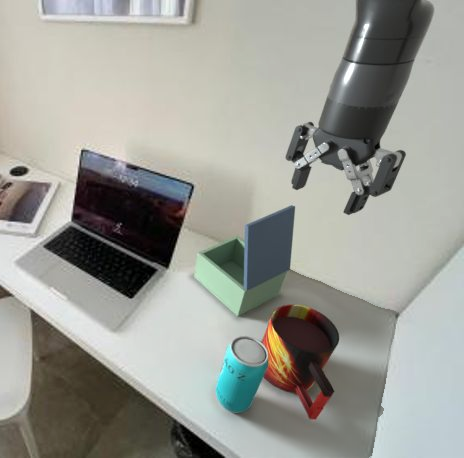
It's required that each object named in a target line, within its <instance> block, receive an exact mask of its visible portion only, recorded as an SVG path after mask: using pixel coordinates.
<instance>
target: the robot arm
mask: <svg viewBox="0 0 464 458" xmlns="http://www.w3.org/2000/svg"><path fill="white" fill-rule="evenodd" d="M434 14H435V6H434V4H433V3H432V2H431V1H430V0H355V17H354V23H353V25H352V28H351V30H350V33H349V36H348V39H347V42H346V46H345V49H344V52H343V54H342V57H341V59H340V62H339V65H338V67H337V69H336V70H335V72H334V74H333V77H332V81H331V83H330V85H329V90H328V93H327V96H326V99H325V101H324V105H323V108H322V110H321V114H320V117H319V120H318V127H317V126H315V124H314V122H312V121H308V122H305V123H301V124H300V125H297V126H295V127H294V131H293V134H292V137H291V140H290V142H289V144H288V148H287V151H286V153H285V160H286V161H288V162H291V163H293V164H294V165H293V167H294V171H293V174H292V178H291V180H290V182H291V183H290V184H291V185H292V186H291V187H292V190H295V191H299V190H301V189H303V188H305V187H306V185H307V182H308V179H309V176H310V173H311V170H312V168H313V167H312V166H310V165H311V164H313V163H315V162H316V161H319V160H320V163H321V164H324V165H328V166H332V167H333V168H335V169H336V170H339V171H342V172H343V171H344V173H345V177H346V179H347V181H348V180H349V181H350V184H351V186H352V189H353V191H351V193H350V196H349V198H348V200H347V202H346V204H345V207H344V209H343V214H346V215H347V216H350V215H353V214H356V213H358V212H360V211H362V210H363V209H364V208H365V206H366V204H367V201H368V200H369V197H370V196H371V197H374V198H377V197H379V196H382V195H384V194H386V193H388V192H390V191H391V190H392V188H393V186H394V184H395V181H396V179H397V177H398V175H399V173H400V170H401V168H402V166H403V163H404V161H405V159H406V156H407V153H406V151H405V150H403V149H398V150H396V151H392V150H388V149H385V148H381V140H382V138H383V136H384V134H385V133H386V130H387V128H388V126H389V124H390V121H391V119H392V117H393V115H394V113H395V110H396V108H397V107H398V104H399V102H400V100H401V97H402V96H403V93H404V91H405V89H406V86H407V84H408V82H409V80H410V77H411V73H412V69H413V66H414V63H415V60H416V58H417V56H418V53H419V51H420V49H421V46H422V45H423V43H424V40H425V38H426V35H427V33H428V31H429V29H430V26H431V23H432V22H433V17H434ZM310 139H312V141H313V144H314V147H315V148H314V149H312V150H311V151H309V152H308V153H306V154H304V153H305V150H306V148H307V145H308V143H309V141H310ZM373 158H375V159H376V163H375V166H376V167H377V168H378V169H377V171H376V173H375V177H374V176H373V172H374V168H373V165H372V162H371V159H373ZM358 166H359V169H358V168H357V167H358Z"/></svg>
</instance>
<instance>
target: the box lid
mask: <svg viewBox="0 0 464 458" xmlns="http://www.w3.org/2000/svg"><path fill="white" fill-rule="evenodd" d="M295 213H296V206H295V205H292V204H290V205H289V206H286V207H284V208H282V209H279V210H277V211H274V212H273V213H270V214H268V215H265V216H263V217H261V218H258V219H256V220H254V221H252V222H249V223H246V224H244V241H245V249H244V289H245V290H246V291H248V290H250V289H252V288H254V287H256V286H258V285H260V284H262V283H264V282H266V281H268V280H270V279H272V278H274V277H276V276H278V275H280V274H282V273H284V272H286V271H287V272H288V271H290V270H291V263H292V262H291V261H292V251H293V237H294V227H295V215H296V214H295Z"/></svg>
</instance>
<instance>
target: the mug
mask: <svg viewBox="0 0 464 458" xmlns="http://www.w3.org/2000/svg"><path fill="white" fill-rule="evenodd" d="M260 342H261V343H262V344H263V345H264V346H265V347H266V349H267V351H268V355H269V356H268V361H269V362H268V367H267V369H266V371H265V374H264V376H263V379H264V380H266V381H267V382H268V383H269V384H270V385H272V386H273V387H275V388H277V389H279V390H282V391H284V392H289V393H294V394H295V393H296V394H297V396H298V399H299V400H300V403H301V404H302V406H303V408H304V410H305V412H306V414H307V417H308V418H309V419H308V420H317V419H318V417H319V416H320V414H321V413H322V412H323V411H324V408H325V406H326V404H327V403H328V402H329V400H330V399H331V398H332V396H333V394H334V393H335V391H336V390H334V388H333V385H332V384H331V382H330V380H329V379H328V377H327V376H326V374H325V371H324V370H323V369H324V368H325V366H326V364H327V363H328V362H329V360H330V359H331V357H332V355H333V353H334V352H335V350H336V348H337V347H338V344H339V342H340V333H339V330H338V327H336V324H334V322H333V321H332V320H331V319H329V318H328V317H327V316H326V315H325V314H323V313H321V312H320V311H318V310H316V309H315V308H312V307H309V306H306V305H302V304H295V303H293V304H291V303H290V304H289V303H288V304H283V305H281V306H278V307H277V308H275V309H274V310H273V311H272V314H271V315H270V318H269V321H268V324H267V327H266V329H265V332H264V334H263V337H262V339H261V341H260ZM315 383H316V384H317V386H318V388H319V389H320V391H319V393H318V394H317V396H316V398H315V399H314V401H313V400H312V398H311V396H310V395H309V393H308V391H309V390H310V389H312V387H313V386H314V385H315Z"/></svg>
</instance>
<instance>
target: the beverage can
mask: <svg viewBox="0 0 464 458" xmlns="http://www.w3.org/2000/svg"><path fill="white" fill-rule="evenodd" d="M261 342H262V341H260V340H259V339H257V338H255V337H253V336H249V335H239V336H237V337H235V338H233V339H232V341H231V342H230V343H229V344H228V346H227V348H226V352H225V354H224V358H223V362H222V365H221V368H220V373H219V376H218V379H217V383H216V385H215V394H216V398H217V400H218V402H219V404H220V405H221V406H222V407H223V408H224V409H225V410H226V411H228V412H230V413H234V414H238V413H239V414H240V413H242V412H246V411H247V410H249V409H250V408H251V406H252V404H253V402H254V400H255V397H256V394H257V392H258V390H259V387H260V385H261V383H262V381H263V379H264V377H263V376H264V374H265V371H266V369H267V367H268V362H269V361H268V356H269V355H268V351H267V349H266V347H265V346H264V345H263V344H262V343H261Z"/></svg>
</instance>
